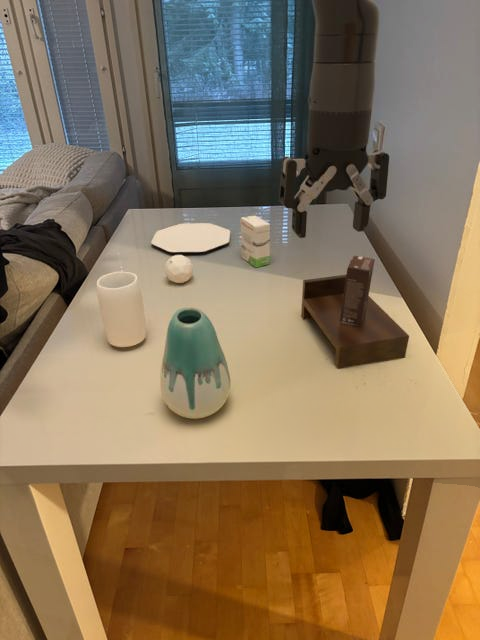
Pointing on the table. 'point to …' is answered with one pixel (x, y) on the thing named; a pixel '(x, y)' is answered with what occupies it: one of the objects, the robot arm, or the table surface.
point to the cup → (121, 308)
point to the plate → (191, 238)
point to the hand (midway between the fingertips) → (329, 232)
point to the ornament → (178, 268)
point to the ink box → (255, 241)
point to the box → (356, 290)
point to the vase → (193, 366)
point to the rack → (352, 340)
